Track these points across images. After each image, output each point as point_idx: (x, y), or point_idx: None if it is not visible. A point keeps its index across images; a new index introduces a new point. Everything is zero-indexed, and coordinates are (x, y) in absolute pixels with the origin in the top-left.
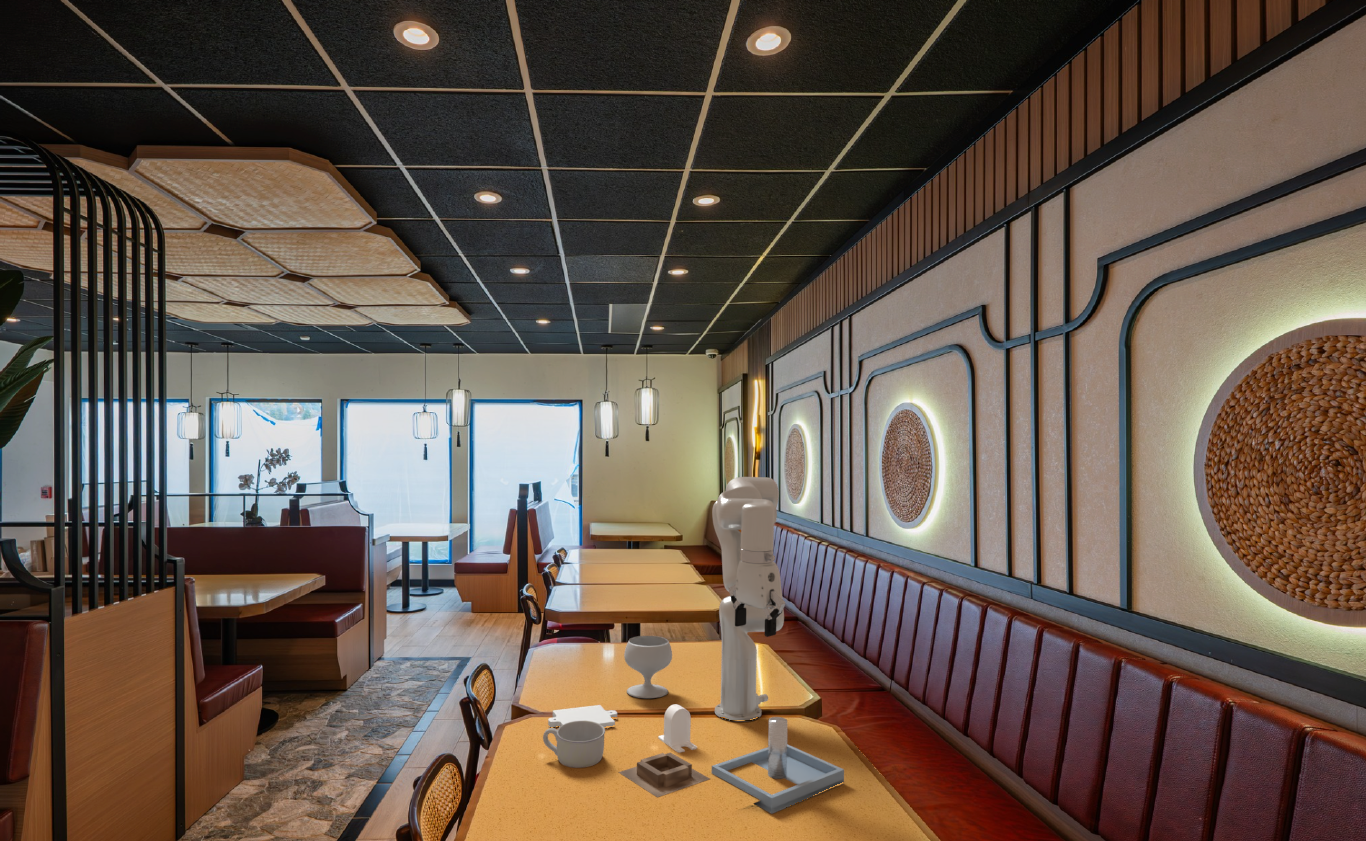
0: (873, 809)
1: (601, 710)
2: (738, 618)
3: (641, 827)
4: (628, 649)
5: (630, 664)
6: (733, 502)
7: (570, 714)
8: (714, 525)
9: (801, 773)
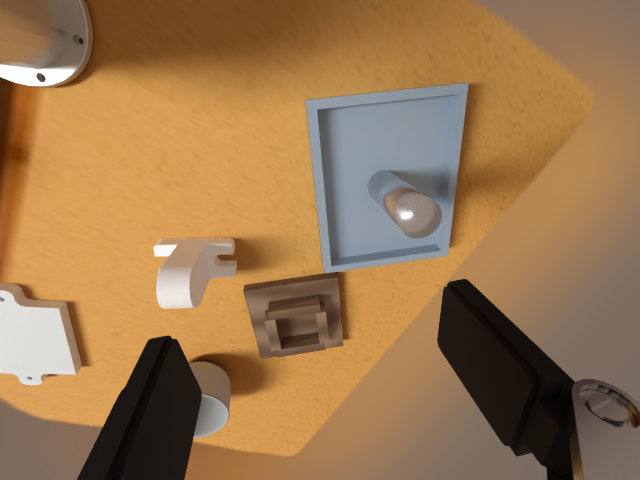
0: (530, 111)
1: None
2: (186, 442)
3: (371, 363)
4: None
5: None
6: None
7: (5, 355)
8: None
9: (397, 139)
